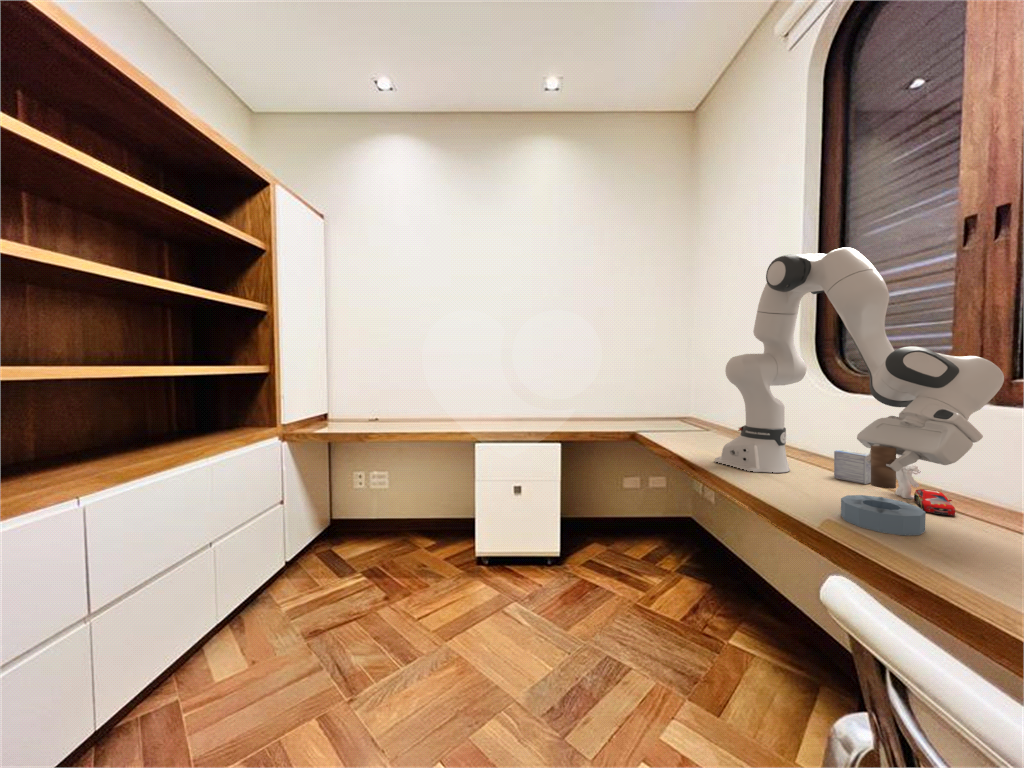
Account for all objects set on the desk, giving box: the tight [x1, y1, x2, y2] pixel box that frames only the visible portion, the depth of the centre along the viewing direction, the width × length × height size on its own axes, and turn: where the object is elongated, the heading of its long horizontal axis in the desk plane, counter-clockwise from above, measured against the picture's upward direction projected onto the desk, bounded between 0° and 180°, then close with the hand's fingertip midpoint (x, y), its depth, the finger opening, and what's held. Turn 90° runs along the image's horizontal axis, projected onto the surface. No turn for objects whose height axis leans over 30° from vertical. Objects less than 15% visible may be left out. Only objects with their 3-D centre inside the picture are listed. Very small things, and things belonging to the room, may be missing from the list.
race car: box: [913, 488, 956, 517], centre depth 94 cm, size 13×5×4 cm, turn 142°
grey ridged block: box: [833, 448, 871, 485], centre depth 117 cm, size 8×4×9 cm, turn 25°
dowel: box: [870, 446, 897, 490], centre depth 85 cm, size 4×4×8 cm
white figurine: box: [895, 454, 921, 500], centre depth 102 cm, size 9×4×12 cm, turn 162°
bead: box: [840, 494, 927, 536], centre depth 86 cm, size 13×13×4 cm
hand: (879, 465), depth 85 cm, fingers closed on dowel, 4 cm apart
